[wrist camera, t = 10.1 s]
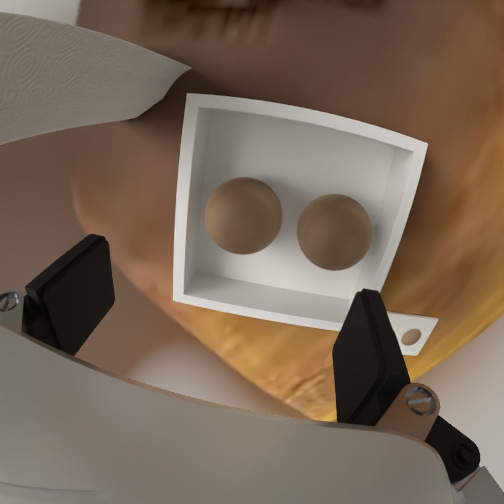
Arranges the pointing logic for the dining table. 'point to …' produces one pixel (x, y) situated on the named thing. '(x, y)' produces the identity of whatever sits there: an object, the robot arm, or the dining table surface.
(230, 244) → the walnut ball
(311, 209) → the ball
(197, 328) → the dining table surface
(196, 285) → the bin
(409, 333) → the card
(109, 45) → the paper towel roll
